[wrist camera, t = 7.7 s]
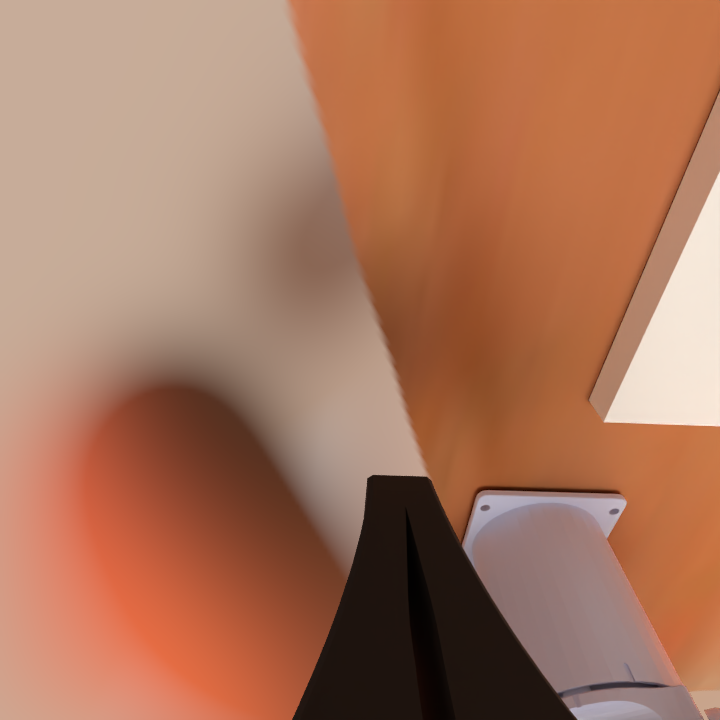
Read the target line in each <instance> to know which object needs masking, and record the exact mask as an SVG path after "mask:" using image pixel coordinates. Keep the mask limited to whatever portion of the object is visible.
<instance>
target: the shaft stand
mask: <svg viewBox="0 0 720 720" xmlns="http://www.w3.org/2000/svg"><path fill="white" fill-rule="evenodd" d="M589 402H590V403H591V404H592V406H593V407H594V409H595V410H596V412H597V413H598V415H599V416H600V418H601V419H602V421H603V422H614V423H642V424H671V425H699V426H720V92H719V94H718V97H717V99H716V102H715V104H714V106H713V109H712V111H711V113H710V116H709V118H708V120H707V123H706V125H705V127H704V130H703V132H702V135H701V137H700V139H699V142H698V144H697V146H696V149H695V151H694V153H693V156H692V158H691V160H690V163H689V165H688V168H687V170H686V172H685V175H684V177H683V179H682V182H681V184H680V186H679V189H678V191H677V193H676V196H675V198H674V200H673V203H672V205H671V208H670V210H669V212H668V215H667V217H666V219H665V222H664V224H663V226H662V229H661V231H660V233H659V236H658V238H657V241H656V243H655V245H654V248H653V250H652V252H651V255H650V257H649V259H648V262H647V264H646V266H645V269H644V271H643V274H642V276H641V278H640V281H639V283H638V285H637V288H636V290H635V292H634V295H633V297H632V299H631V302H630V304H629V307H628V309H627V311H626V314H625V316H624V318H623V321H622V323H621V325H620V328H619V330H618V332H617V335H616V337H615V340H614V342H613V344H612V347H611V349H610V351H609V354H608V356H607V358H606V361H605V363H604V365H603V368H602V370H601V373H600V375H599V377H598V380H597V382H596V384H595V387H594V389H593V391H592V394H591V396H590V398H589Z"/></svg>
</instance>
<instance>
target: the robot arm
mask: <svg viewBox="0 0 720 720" xmlns="http://www.w3.org/2000/svg"><path fill="white" fill-rule="evenodd" d="M626 504H627V502H626V500H625V498H624V496H622V495H620V494H603V493H569V492H535V491H501V490H484V491H481V492H479V493H478V494H477V496H476V499H475V502H474V506H473V509H472V513H471V516H470V520H469V523H468V526H467V530H466V533H465V537H464V540H463V543H462V545H461V543H460V542H459V540H458V538H457V536H456V534H455V532H454V530H453V528H452V526H451V524H450V522H449V520H448V518H447V516H446V514H445V511H444V509H443V507H442V505H441V503H440V501H439V498H438V496H437V494H436V491H435V489H434V486H433V484H432V481H431V480H430V479H429V478H428V477H419V476H417V477H416V476H387V475H372V476H371V477H369V478H368V479H367V489H366V500H365V512H364V520H363V525H362V530H361V534H360V538H359V542H358V545H357V549H356V553H355V557H354V561H353V564H352V568H351V571H350V574H349V577H348V580H347V583H346V586H345V589H344V592H343V595H342V598H341V602H340V605H339V607H338V610H337V613H336V616H335V618H334V621H333V624H332V626H331V629H330V632H329V634H328V637H327V639H326V642H325V645H324V647H323V650H322V652H321V654H320V657H319V659H318V662H317V664H316V667H315V669H314V671H313V674H312V676H311V678H310V681H309V683H308V686H307V687H306V690H305V692H304V695H303V697H302V699H301V701H300V704H299V706H298V708H297V710H296V712H295V715H294V717H293V719H292V720H704V719H703V717H702V715H701V713H700V711H699V710H698V708H697V706H696V704H695V702H694V701H693V699H692V697H691V695H690V693H689V691H688V690H687V688H686V686H684V685H683V684H682V682H681V680H680V678H679V676H678V674H677V672H676V670H675V668H674V666H673V665H672V663H671V661H670V659H669V657H668V655H667V653H666V651H665V649H664V647H663V645H662V644H661V642H660V640H659V638H658V636H657V634H656V632H655V630H654V628H653V626H652V624H651V623H650V621H649V619H648V617H647V615H646V613H645V611H644V609H643V607H642V605H641V603H640V602H639V600H638V598H637V596H636V594H635V592H634V590H633V588H632V586H631V584H630V582H629V581H628V579H627V577H626V575H625V573H624V571H623V569H622V567H621V565H620V563H619V561H618V560H617V558H616V556H615V554H614V552H613V550H612V548H611V546H610V544H609V542H608V540H607V538H608V536H609V534H610V532H611V531H612V529H613V527H614V525H615V524H616V522H617V520H618V519H619V517H620V515H621V513H622V512H623V510H624V508H625V506H626ZM704 711H705V713H706V715H707V717H708V719H709V720H720V708H712V709H707V710H704Z"/></svg>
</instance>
